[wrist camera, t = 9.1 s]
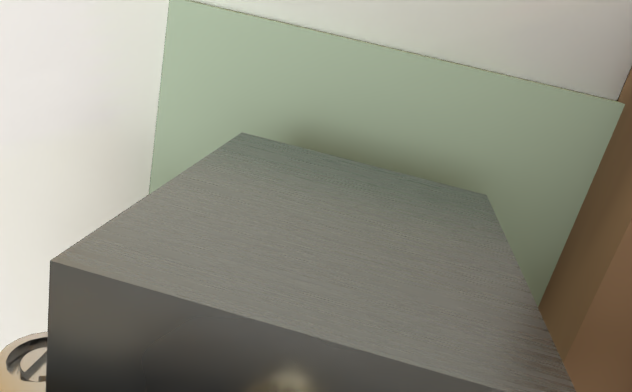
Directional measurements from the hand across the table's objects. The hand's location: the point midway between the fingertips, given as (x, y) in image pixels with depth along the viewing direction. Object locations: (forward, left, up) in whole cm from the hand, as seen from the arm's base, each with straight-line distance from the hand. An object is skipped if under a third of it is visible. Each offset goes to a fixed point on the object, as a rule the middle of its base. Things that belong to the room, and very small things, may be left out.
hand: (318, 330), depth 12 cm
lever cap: (0, 0, 0) cm, 0 cm away
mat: (0, 0, -4) cm, 4 cm away
